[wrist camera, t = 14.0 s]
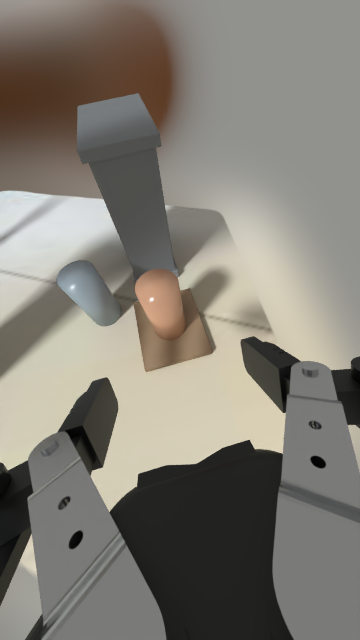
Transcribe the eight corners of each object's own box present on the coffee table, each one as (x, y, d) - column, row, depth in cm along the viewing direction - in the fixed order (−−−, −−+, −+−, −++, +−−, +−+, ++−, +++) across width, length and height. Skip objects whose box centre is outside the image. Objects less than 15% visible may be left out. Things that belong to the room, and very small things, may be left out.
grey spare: (94, 329, 33) (55, 294, 24) (92, 305, 35) (57, 265, 26) (123, 321, 33) (95, 284, 24) (120, 298, 35) (94, 256, 26)
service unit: (137, 287, 36) (77, 151, 18) (128, 239, 43) (77, 106, 25) (178, 276, 36) (159, 133, 19) (163, 231, 43) (138, 93, 25)
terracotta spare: (157, 344, 29) (137, 308, 20) (151, 316, 32) (132, 274, 23) (189, 335, 29) (183, 297, 21) (181, 308, 32) (173, 264, 23)
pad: (146, 372, 28) (144, 370, 27) (135, 306, 34) (133, 302, 33) (211, 353, 29) (212, 351, 28) (189, 291, 35) (189, 288, 34)
